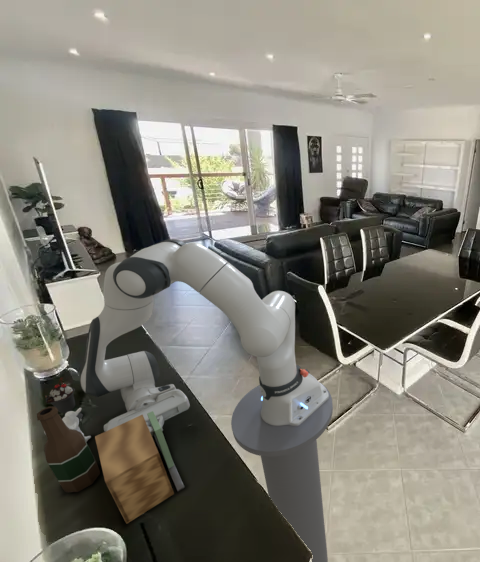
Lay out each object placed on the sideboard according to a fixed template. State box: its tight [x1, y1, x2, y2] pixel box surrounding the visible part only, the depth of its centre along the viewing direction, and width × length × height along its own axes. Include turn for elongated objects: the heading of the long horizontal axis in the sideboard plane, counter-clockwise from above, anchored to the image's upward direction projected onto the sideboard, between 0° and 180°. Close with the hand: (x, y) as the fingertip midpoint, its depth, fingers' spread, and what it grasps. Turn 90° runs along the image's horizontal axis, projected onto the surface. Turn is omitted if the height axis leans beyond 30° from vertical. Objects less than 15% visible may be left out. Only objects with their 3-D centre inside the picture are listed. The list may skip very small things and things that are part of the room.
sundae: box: [44, 377, 84, 421], centre depth 100 cm, size 7×7×15 cm
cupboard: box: [94, 414, 185, 525], centre depth 83 cm, size 12×24×15 cm, turn 45°
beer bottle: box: [36, 405, 101, 493], centre depth 80 cm, size 8×8×24 cm
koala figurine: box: [43, 407, 92, 443], centre depth 91 cm, size 8×7×12 cm
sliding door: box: [147, 411, 175, 469], centre depth 87 cm, size 2×8×14 cm, turn 45°
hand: (156, 431), depth 90 cm, fingers closed
